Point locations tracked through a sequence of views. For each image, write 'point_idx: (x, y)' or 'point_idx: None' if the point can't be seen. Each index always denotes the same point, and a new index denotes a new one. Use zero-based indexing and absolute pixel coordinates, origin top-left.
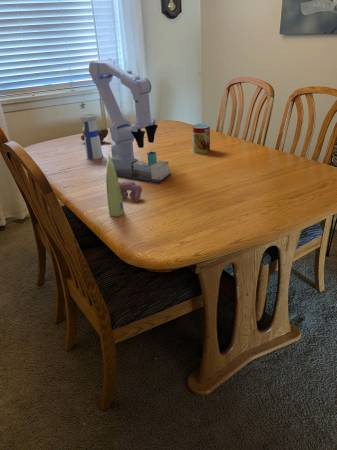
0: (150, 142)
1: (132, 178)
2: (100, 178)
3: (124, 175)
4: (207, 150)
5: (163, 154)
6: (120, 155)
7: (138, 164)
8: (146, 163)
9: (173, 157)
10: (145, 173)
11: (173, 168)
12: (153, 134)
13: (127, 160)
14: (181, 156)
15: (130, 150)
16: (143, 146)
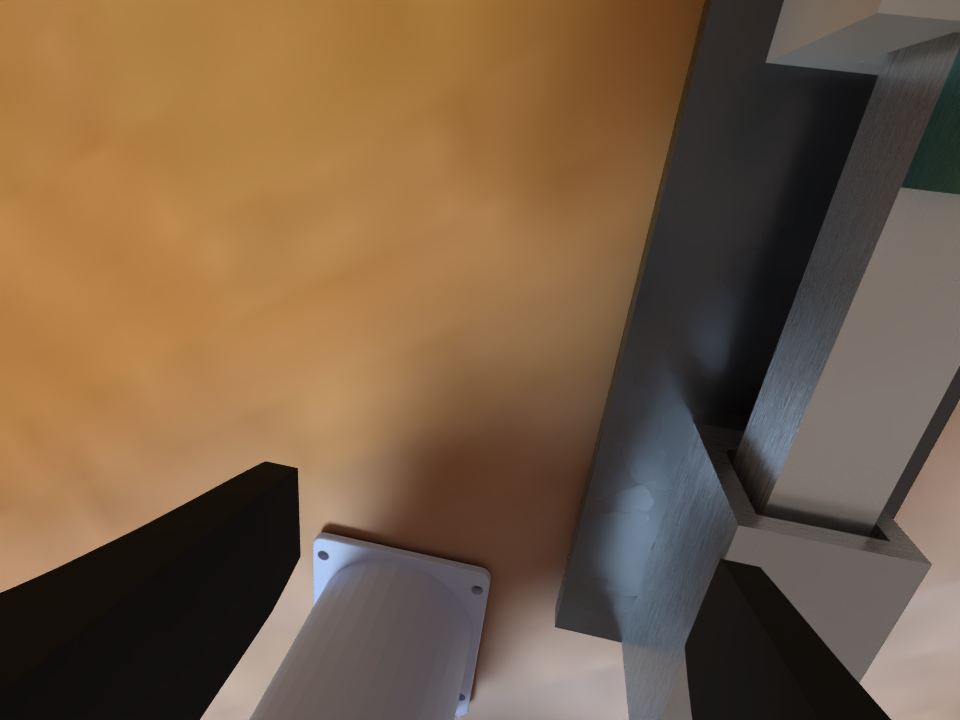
0: (297, 521)
1: (949, 392)
2: (894, 687)
3: (887, 507)
4: None
5: (67, 353)
6: (454, 717)
7: (930, 417)
8: (879, 300)
9: (83, 199)
10: (795, 287)
11: (430, 3)
12: (112, 611)
13: (852, 619)
14: (3, 108)
15: (374, 682)
16: (733, 575)
